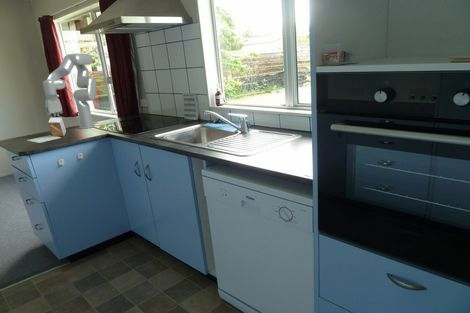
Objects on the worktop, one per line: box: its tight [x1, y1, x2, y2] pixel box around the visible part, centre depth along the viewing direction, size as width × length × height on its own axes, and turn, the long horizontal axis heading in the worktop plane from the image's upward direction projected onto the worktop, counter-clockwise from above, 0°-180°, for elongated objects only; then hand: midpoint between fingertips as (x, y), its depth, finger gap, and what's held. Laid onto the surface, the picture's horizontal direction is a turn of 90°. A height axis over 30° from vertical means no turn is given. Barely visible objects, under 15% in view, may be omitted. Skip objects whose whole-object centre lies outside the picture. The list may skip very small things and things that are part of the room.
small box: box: [47, 117, 67, 137], centre depth 251 cm, size 8×6×13 cm
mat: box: [26, 135, 62, 144], centre depth 247 cm, size 16×18×1 cm
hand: (57, 121), depth 253 cm, fingers closed
